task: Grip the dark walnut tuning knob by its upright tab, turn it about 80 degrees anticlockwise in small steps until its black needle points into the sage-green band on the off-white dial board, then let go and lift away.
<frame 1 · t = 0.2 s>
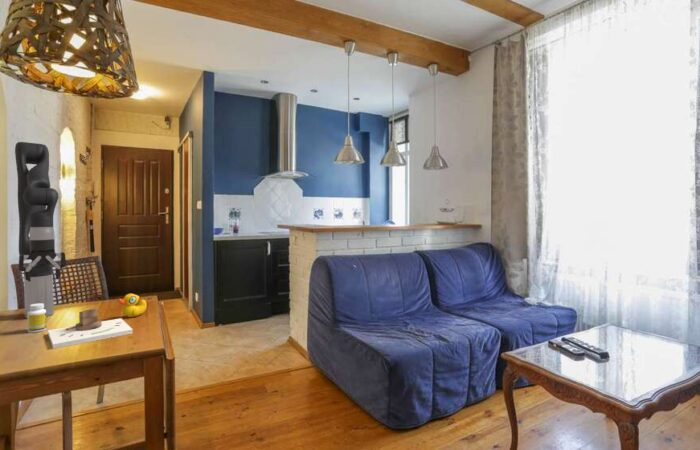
hand: (43, 279, 146), 17 cm above the table, tool pointing down, fingers open, 8 cm apart
duckling: (133, 317, 157), on the table
dial board: (90, 333, 135), on the table
supplement bottle: (37, 331, 138), on the table
knob: (83, 320, 136), point 5 cm above the table, hinge at 0.0°
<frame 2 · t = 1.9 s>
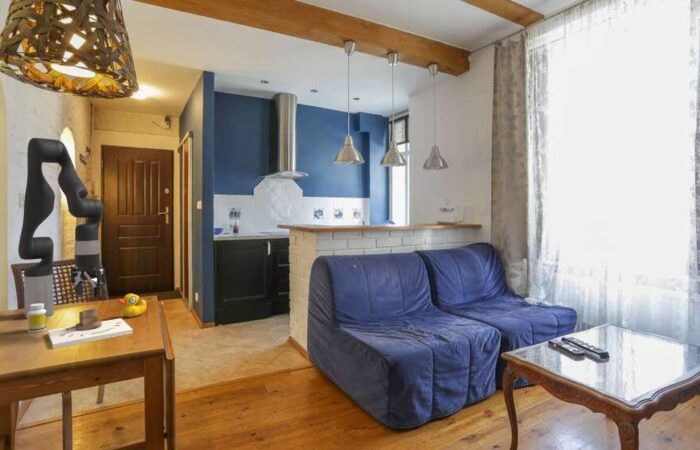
hand: (88, 296, 138), 13 cm above the table, tool pointing down, fingers open, 8 cm apart
nothing on the table moved.
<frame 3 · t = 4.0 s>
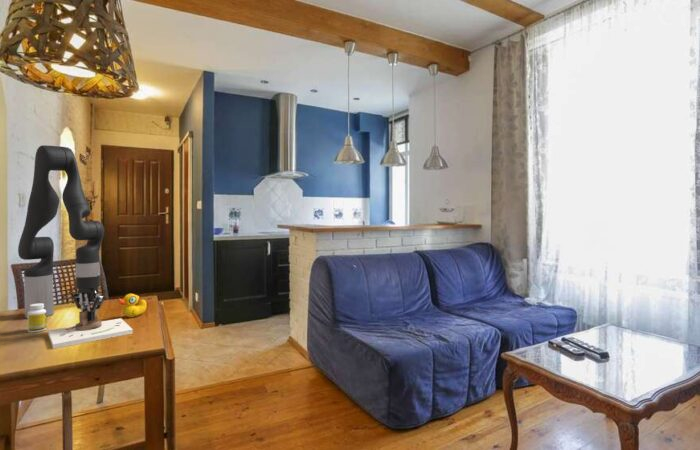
hand: (88, 320, 138), 4 cm above the table, tool pointing down, fingers closed on knob, 2 cm apart
knob: (83, 320, 136), point 5 cm above the table, hinge at 0.0°, touching gripper
everything else where it was.
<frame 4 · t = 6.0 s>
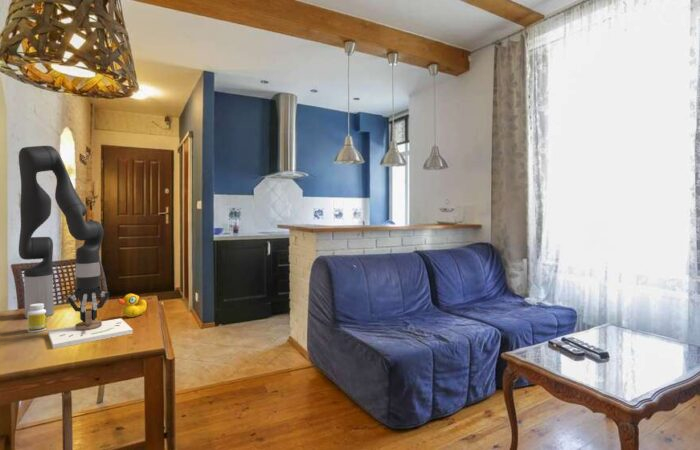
hand: (88, 320, 138), 4 cm above the table, tool pointing down, fingers closed on knob, 2 cm apart
knob: (88, 319, 137), point 5 cm above the table, hinge at 50.9°, touching gripper
everything else where it was.
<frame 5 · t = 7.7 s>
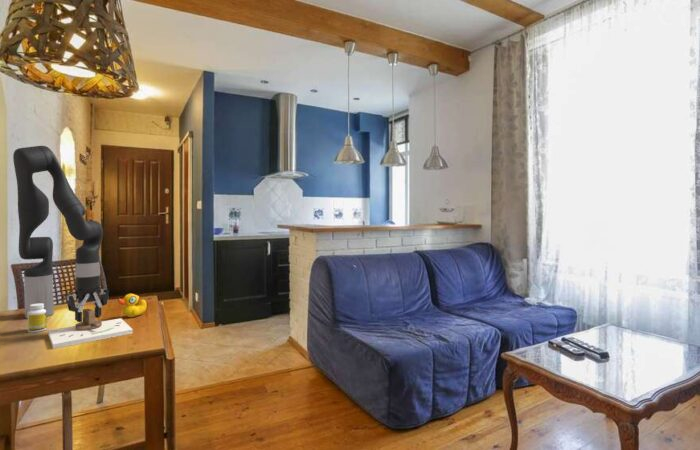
hand: (88, 319, 138), 5 cm above the table, tool pointing down, fingers open, 5 cm apart
knob: (91, 319, 137), point 5 cm above the table, hinge at 72.8°
everything else where it was.
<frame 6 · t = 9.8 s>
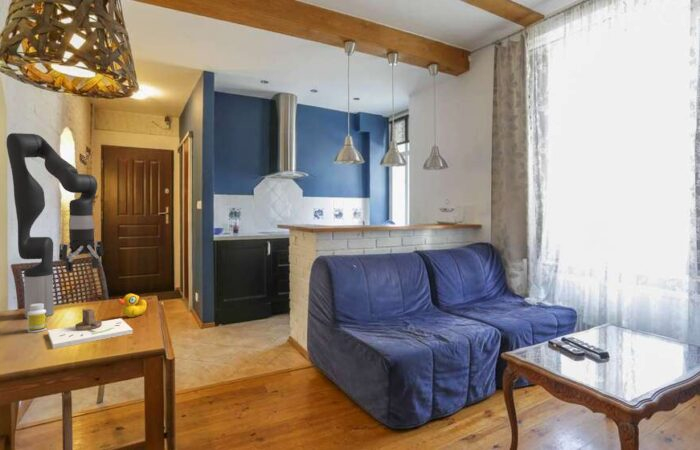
hand: (82, 269, 141), 22 cm above the table, tool pointing down, fingers open, 8 cm apart
knob: (91, 319, 137), point 5 cm above the table, hinge at 73.3°
everything else where it was.
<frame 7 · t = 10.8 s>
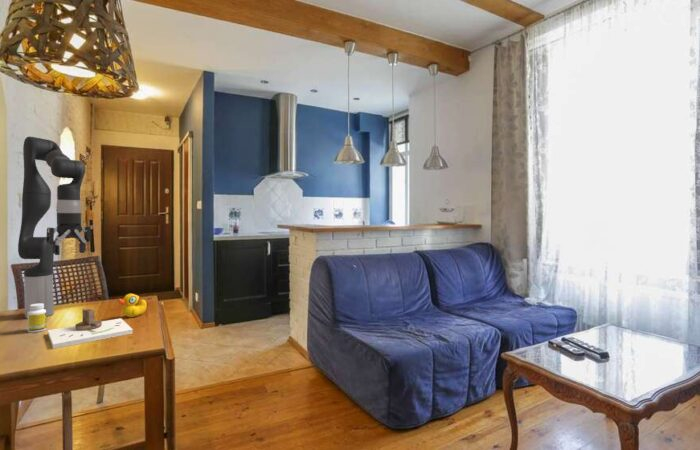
hand: (69, 253, 143), 28 cm above the table, tool pointing down, fingers open, 8 cm apart
nothing on the table moved.
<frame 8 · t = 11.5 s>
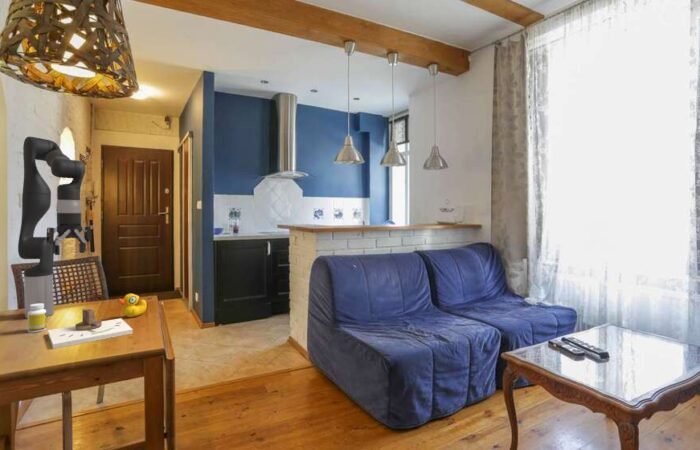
hand: (69, 253, 143), 28 cm above the table, tool pointing down, fingers open, 8 cm apart
nothing on the table moved.
at the end: knob at +73° (first picture: +0°); the gripper is holding nothing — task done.
